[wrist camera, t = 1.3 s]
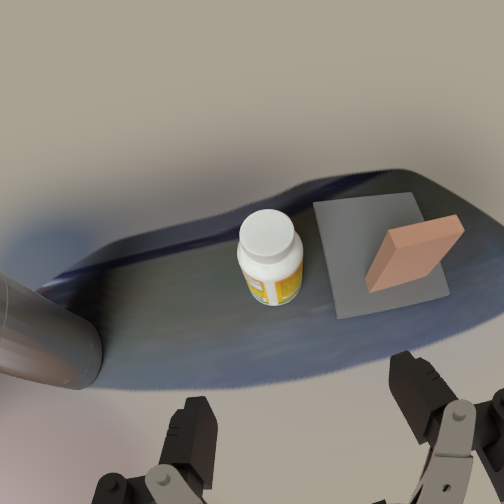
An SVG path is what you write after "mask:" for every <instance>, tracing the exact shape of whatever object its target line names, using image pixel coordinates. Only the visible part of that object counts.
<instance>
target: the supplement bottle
mask: <svg viewBox="0 0 504 504" xmlns="http://www.w3.org/2000/svg"><path fill="white" fill-rule="evenodd" d="M237 257H238V261H239V264H240V267H241V269H242V272H243V274H244V276H245V279H246V281H247V284H248V286H249V289H250V291H251V293H252V294H253V296H254V297H255V298H256V299H257V300H259V301H260V302H262V303H264V304H267V305H272V306H277V305H282V304H285V303H287V302H289V301H290V300H292V299H293V298H294V297H295V296H296V295H297V293H298V292H299V290H300V288H301V284H302V268H303V245H302V241H301V239H300V237H299V235H298V234H297V233H296V232H295V231H294V226H293V223H292V221H291V220H290V219H289V217H288V216H287V215H285V214H284V213H282V212H280V211H277V210H273V209H265V210H260V211H257V212H255V213H253V214H251V215H250V216H248V217H247V218H246V219H245V221H244V222H243V224H242V226H241V228H240V242H239V244H238V248H237Z"/></svg>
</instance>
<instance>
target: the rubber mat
mask: <svg viewBox="0 0 504 504" xmlns="http://www.w3.org/2000/svg"><path fill="white" fill-rule="evenodd" d="M313 208H314V212H315V216H316V220H317V224H318V228H319V233H320V237H321V242H322V246H323V251H324V255H325V260H326V265H327V270H328V275H329V280H330V285H331V290H332V295H333V301H334V306H335V312H336V318H337V320H338V319H344V318H349V317H355V316H360V315H366V314H371V313H376V312H381V311H386V310H391V309H395V308H400V307H404V306H409V305H413V304H418V303H422V302H426V301H430V300H434V299H438V298H442V297H446V296H448V295H450V291H449V288H448V285H447V281H446V278H445V275H444V272H443V269H442V266H441V263H440V261H439V263H438V264H437V265H436V266H435V267H434V268H433V269H432V271H431V272H430V273H429V274H428V275H427V276H425V277H422V278H419V279H416V280H412V281H409V282H406V283H403V284H399V285H396V286H392V287H389V288H386V289H382V290H379V291H375V292H371V293H369V290H368V287H367V284H366V281H365V277H366V275H367V273H368V271H369V269H370V267H371V265H372V263H373V261H374V259H375V257H376V255H377V253H378V251H379V249H380V247H381V244H382V242H383V240H384V238H385V236H386V234H387V232H388V230H391V229H395V228H399V227H404V226H408V225H413V224H417V223H421V222H425V221H424V219H423V216H422V214H421V212H420V209H419V207H418V205H417V203H416V201H415V198H414V196H413V194H412V192H407V193H396V194H385V195H375V196H365V197H356V198H347V199H338V200H330V201H321V202H313Z"/></svg>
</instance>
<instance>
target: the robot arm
mask: <svg viewBox="0 0 504 504" xmlns="http://www.w3.org/2000/svg"><path fill="white" fill-rule="evenodd" d="M101 361H102V345H101V340H100V337H99V334H98V332H97V330H96V328H95V327H94V326H93V325H92V324H91V323H90V322H89V321H87V320H86V319H84V318H82V317H80V316H78V315H76V314H74V313H72V312H70V311H68V310H66V309H64V308H62V307H60V306H59V305H57V304H55V303H53V302H51V301H49V300H48V299H46V298H44V297H42V296H41V295H39V294H37V293H35V292H34V291H32V290H30V289H29V288H27V287H25V286H23V285H22V284H20V283H18V282H17V281H16V280H14V279H12V278H11V277H9V276H8V275H6V274H5V273H3V272H2V271H0V373H2V374H5V375H9V376H12V377H16V378H20V379H24V380H28V381H32V382H36V383H41V384H45V385H50V386H55V387H60V388H66V389H72V390H81V389H84V388H86V387H87V386H89V385H90V384H91V383H92V382H93V381H94V380H95V378H96V376H97V374H98V372H99V369H100V366H101ZM389 387H390V391H391V393H392V395H393V397H394V399H395V400H396V402H397V404H398V406H399V407H400V409H401V411H402V413H403V415H404V416H405V418H406V420H407V422H408V424H409V426H410V428H411V430H412V432H413V433H414V435H415V437H416V439H417V441H418V443H419V444H420V445H421V444H423V443H425V442H427V441H428V443H429V445H430V448H429V451H428V454H427V457H426V461H425V464H424V467H423V470H422V473H421V476H420V478H419V481H418V484H417V486H416V488H415V490H414V492H413V495H412V497H411V499H410V501H409V503H408V504H463V501H464V498H465V494H466V491H467V486H468V483H469V478H470V474H471V469H472V465H473V456H471V451H473V450H476V452H477V454H478V456H479V458H480V460H481V462H482V464H483V466H484V468H485V470H486V472H487V474H488V476H489V478H490V480H491V482H492V484H493V486H494V488H495V490H496V492H497V495H498V497H499V500H500V502H501V504H504V388H503V389H500V390H499V391H497V392H496V393H495V395H494V396H493V399H492V400H490V401H487V402H483V403H479V404H472V403H471V402H469V401H467V400H459V399H458V398H457V397H456V395H455V394H454V393H453V391H452V390H451V389H450V388H449V386H448V385H447V384H446V382H445V381H444V380H443V379H442V378H441V377H440V375H439V374H438V372H436V371H435V369H434V367H433V366H432V365H431V364H430V362H428V361H426V360H424V359H422V358H421V357H419V358H417V359H415V358H414V357H413V356H412V355H411V353H410V352H409V351H407V350H406V351H404V352H401V353H398V354H395V355H392V356H391V358H390V371H389ZM217 432H218V425H217V420H216V418H215V416H214V413H213V412H212V409H211V407H210V405H209V403H208V401H207V399H206V397H205V396H200V397H189V398H187V399H186V402H185V406H184V409H178V410H177V411H176V412H175V414H174V415H173V416H172V418H171V420H170V424H169V429H168V431H167V434H166V435H167V436H166V438H165V442H164V446H163V449H162V453H161V457H160V460H159V464H158V465H157V466H154V467H153V468H151V469H150V470H149V471H148V472H147V474H146V475H145V476H140V477H135V478H129V479H125V478H124V477H123V476H122V475H121V474H118V473H108V474H106V475H104V476H103V477H101V479H100V480H99V481H98V484H97V487H96V490H95V494H94V497H93V500H92V503H91V504H207V502H206V501H205V500H204V499H203V498H202V494H203V489H212V481H213V471H214V460H215V451H216V441H217ZM373 504H386V501H385V499H384V500H382V501H379V502H376V503H373Z"/></svg>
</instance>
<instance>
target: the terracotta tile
mask: <svg viewBox="0 0 504 504" xmlns="http://www.w3.org/2000/svg"><path fill="white" fill-rule="evenodd" d="M464 231H465V230H464V228H463V226H462V224H461V223H460V221H459V219H458V217H457V215H452V216H447V217H443V218H439V219H434V220H430V221H426V222H421V223H417V224H413V225H408V226H404V227H399V228H395V229H391V230H388V232H387V234H386V236H385V238H384V240H383V242H382V244H381V247H380V249H379V251H378V253H377V255H376V257H375V259H374V261H373V263H372V265H371V267H370V269H369V271H368V273H367V275H366V277H365V281H366V284H367V287H368V290H369V293H371V292H375V291H379V290H382V289H386V288H389V287H392V286H396V285H399V284H403V283H406V282H409V281H412V280H416V279H419V278H422V277H425V276H427V275H428V274H429V273H430V272H431V271H432V269H433V268H434V267H435V266H436V265H437V264H438V263H439V261H440V260H441V259H442V258H443V257H444V256H445V254H446V253H447V252H448V251H449V250H450V248H451V247H452V246H453V245H454V244H455V242H456V241H457V240H458V239H459V237H460V236H461V235H462V234H463V232H464Z"/></svg>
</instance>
